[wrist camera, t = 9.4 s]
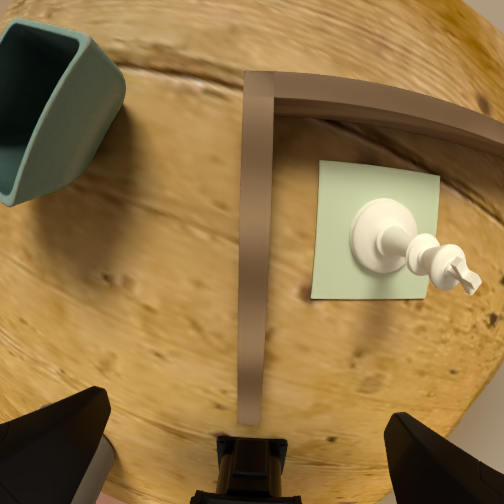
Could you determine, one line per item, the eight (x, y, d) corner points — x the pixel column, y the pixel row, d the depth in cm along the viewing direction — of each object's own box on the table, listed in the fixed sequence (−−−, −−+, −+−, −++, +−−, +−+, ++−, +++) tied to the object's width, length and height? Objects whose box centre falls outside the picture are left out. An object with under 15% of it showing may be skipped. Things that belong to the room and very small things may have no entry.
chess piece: (378, 285, 19) (454, 363, 9) (333, 234, 18) (400, 286, 8) (425, 236, 18) (525, 278, 8) (385, 182, 17) (486, 186, 7)
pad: (424, 297, 19) (425, 298, 19) (310, 297, 19) (311, 298, 19) (438, 175, 17) (439, 176, 17) (319, 160, 17) (319, 160, 17)
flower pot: (161, 88, 17) (93, 33, 8) (99, 198, 18) (8, 212, 10) (83, 55, 16) (12, 16, 7) (33, 149, 18) (-48, 146, 9)
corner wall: (468, 372, 20) (488, 394, 16) (242, 389, 21) (237, 424, 17) (508, 143, 16) (539, 141, 12) (249, 93, 16) (244, 70, 13)
